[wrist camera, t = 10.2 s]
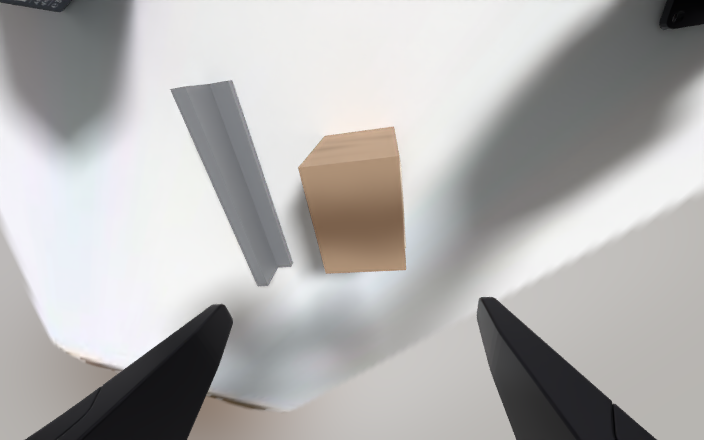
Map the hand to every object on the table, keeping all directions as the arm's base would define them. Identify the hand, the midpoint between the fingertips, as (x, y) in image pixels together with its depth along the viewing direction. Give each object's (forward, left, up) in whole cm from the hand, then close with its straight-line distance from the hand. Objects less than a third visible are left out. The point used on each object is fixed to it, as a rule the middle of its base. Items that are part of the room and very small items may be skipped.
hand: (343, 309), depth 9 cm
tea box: (0, 0, -13) cm, 13 cm away
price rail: (+10, 0, -13) cm, 16 cm away
